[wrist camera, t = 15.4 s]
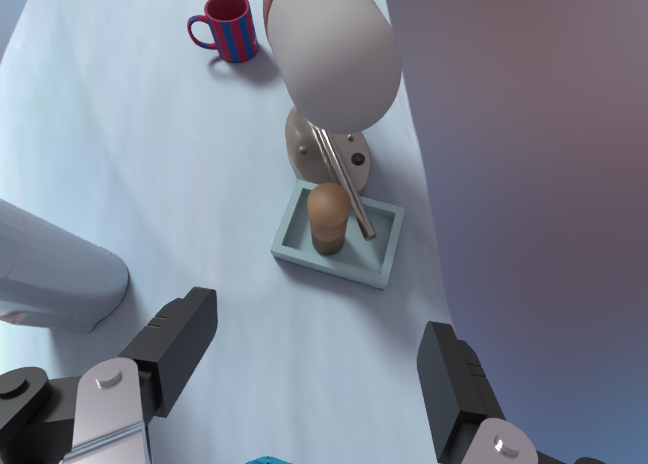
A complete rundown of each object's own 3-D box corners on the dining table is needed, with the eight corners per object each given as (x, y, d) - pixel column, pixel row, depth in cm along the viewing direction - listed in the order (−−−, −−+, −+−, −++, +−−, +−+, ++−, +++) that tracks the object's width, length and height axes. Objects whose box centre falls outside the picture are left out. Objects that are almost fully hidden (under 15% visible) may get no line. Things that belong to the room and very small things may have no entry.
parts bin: (382, 290, 38) (387, 284, 35) (274, 257, 39) (270, 250, 36) (399, 217, 41) (405, 207, 39) (299, 190, 43) (297, 179, 40)
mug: (260, 59, 52) (252, 18, 46) (199, 68, 51) (182, 28, 45) (255, 32, 54) (246, -11, 48) (197, 40, 54) (180, -2, 47)
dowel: (338, 259, 38) (342, 228, 28) (307, 249, 39) (301, 214, 28) (348, 230, 39) (356, 190, 29) (318, 221, 40) (315, 177, 30)
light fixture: (333, 146, 19) (220, -110, 32) (325, 262, 38) (258, 74, 52) (489, 104, 20) (321, -123, 33) (405, 236, 40) (320, 61, 53)
